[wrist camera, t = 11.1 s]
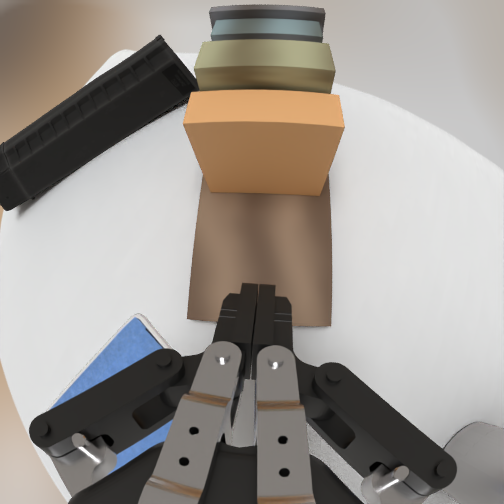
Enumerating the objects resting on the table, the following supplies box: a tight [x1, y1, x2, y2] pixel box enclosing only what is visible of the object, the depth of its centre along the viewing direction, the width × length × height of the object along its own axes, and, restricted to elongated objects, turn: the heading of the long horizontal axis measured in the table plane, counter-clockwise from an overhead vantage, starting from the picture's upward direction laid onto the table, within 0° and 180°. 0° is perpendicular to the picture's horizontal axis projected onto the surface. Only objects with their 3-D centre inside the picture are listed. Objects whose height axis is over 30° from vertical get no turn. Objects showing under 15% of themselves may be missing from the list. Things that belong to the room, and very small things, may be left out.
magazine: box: [0, 35, 200, 211], centre depth 25 cm, size 17×3×30 cm
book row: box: [187, 5, 335, 326], centre depth 21 cm, size 12×26×14 cm, turn 177°
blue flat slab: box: [46, 313, 173, 475], centre depth 22 cm, size 19×13×1 cm, turn 135°
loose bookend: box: [183, 90, 345, 196], centre depth 21 cm, size 10×3×10 cm, turn 87°
